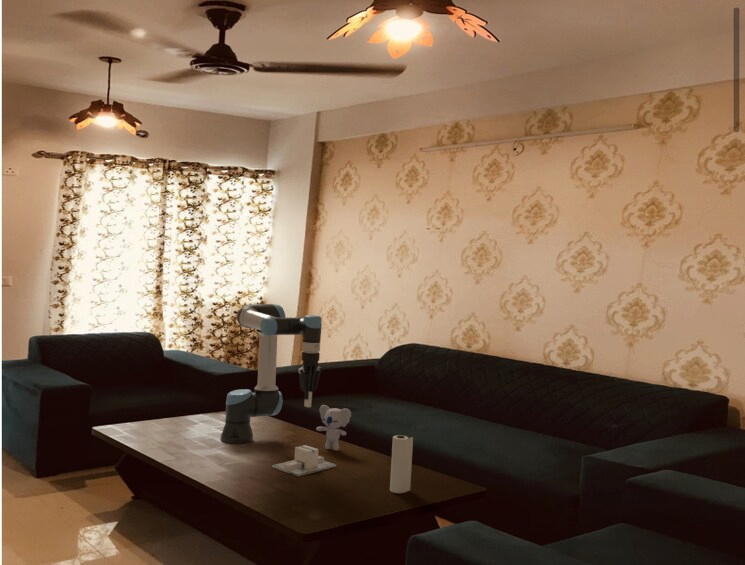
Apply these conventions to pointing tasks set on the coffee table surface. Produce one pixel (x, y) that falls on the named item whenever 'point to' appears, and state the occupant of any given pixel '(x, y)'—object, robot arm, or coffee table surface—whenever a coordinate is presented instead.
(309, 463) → the block
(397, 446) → the paper towel roll
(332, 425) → the toy
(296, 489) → the coffee table surface
